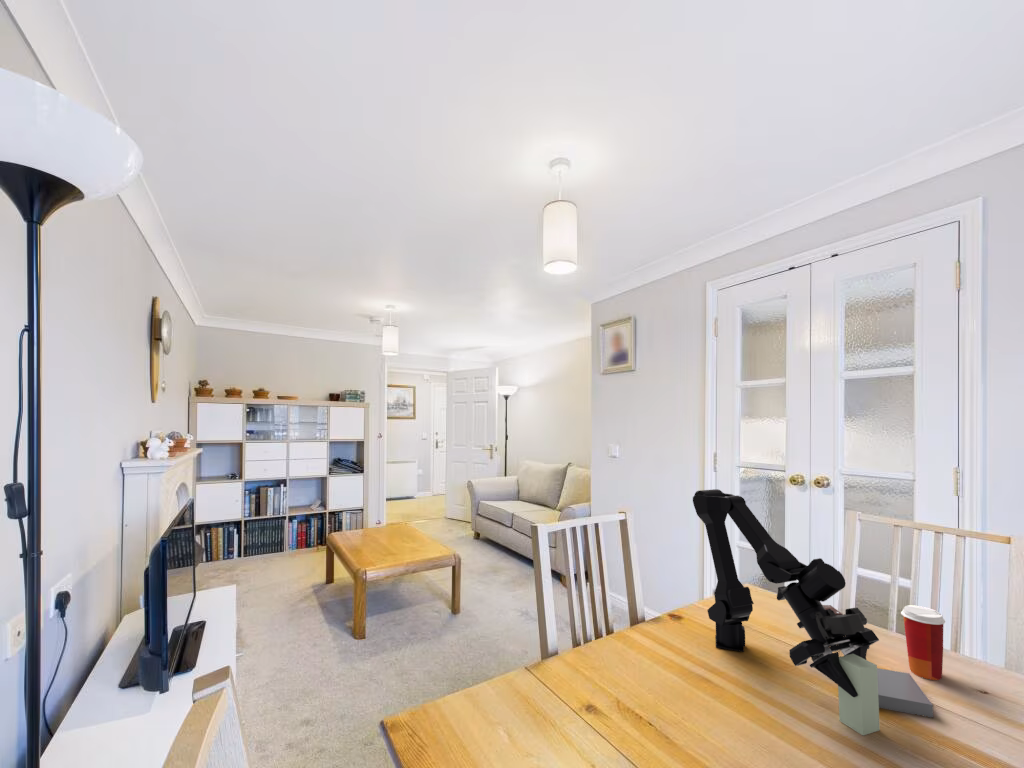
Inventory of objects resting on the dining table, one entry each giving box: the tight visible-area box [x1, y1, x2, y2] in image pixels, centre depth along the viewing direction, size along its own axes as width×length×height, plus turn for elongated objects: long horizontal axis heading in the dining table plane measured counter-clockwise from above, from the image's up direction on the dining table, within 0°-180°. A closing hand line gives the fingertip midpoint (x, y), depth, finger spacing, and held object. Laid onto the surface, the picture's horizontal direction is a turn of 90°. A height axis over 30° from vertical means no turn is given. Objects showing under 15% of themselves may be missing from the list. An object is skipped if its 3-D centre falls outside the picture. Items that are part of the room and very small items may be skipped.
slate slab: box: [877, 667, 934, 718], centre depth 102 cm, size 12×12×2 cm
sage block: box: [837, 654, 881, 736], centre depth 92 cm, size 4×4×12 cm
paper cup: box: [900, 604, 946, 681], centre depth 110 cm, size 8×8×14 cm
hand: (865, 694), depth 91 cm, fingers closed on sage block, 4 cm apart
